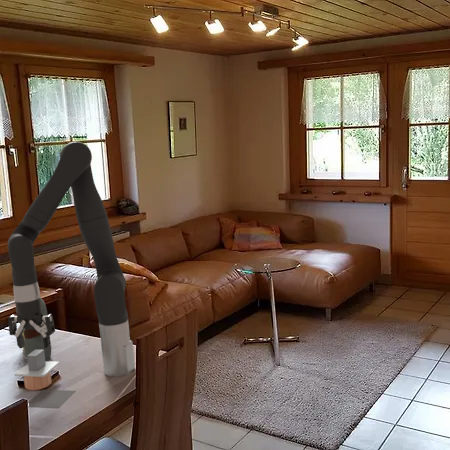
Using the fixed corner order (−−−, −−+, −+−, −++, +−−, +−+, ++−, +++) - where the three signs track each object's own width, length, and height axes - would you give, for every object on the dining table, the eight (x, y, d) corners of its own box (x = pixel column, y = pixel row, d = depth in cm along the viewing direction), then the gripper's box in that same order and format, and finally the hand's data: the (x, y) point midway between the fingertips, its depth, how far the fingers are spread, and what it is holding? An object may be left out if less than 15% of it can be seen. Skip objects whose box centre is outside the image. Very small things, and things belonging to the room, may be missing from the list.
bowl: (56, 380, 188) (54, 365, 187) (43, 391, 180) (41, 376, 180) (33, 379, 190) (31, 364, 189) (20, 390, 182) (18, 375, 181)
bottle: (51, 362, 203) (41, 278, 198) (23, 366, 201) (13, 281, 196) (53, 352, 212) (44, 271, 207) (27, 355, 210) (16, 274, 205)
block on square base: (59, 363, 189) (57, 346, 188) (44, 376, 179) (42, 359, 178) (31, 362, 191) (29, 346, 190) (14, 375, 181) (12, 358, 180)
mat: (76, 392, 179) (75, 390, 179) (58, 409, 168) (58, 408, 168) (43, 390, 181) (42, 389, 181) (23, 407, 170) (23, 406, 170)
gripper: (54, 293, 182) (61, 343, 185) (13, 294, 185) (20, 342, 188) (42, 300, 175) (49, 352, 178) (-1, 301, 178) (7, 352, 181)
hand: (34, 347), depth 183 cm, fingers open, 8 cm apart
